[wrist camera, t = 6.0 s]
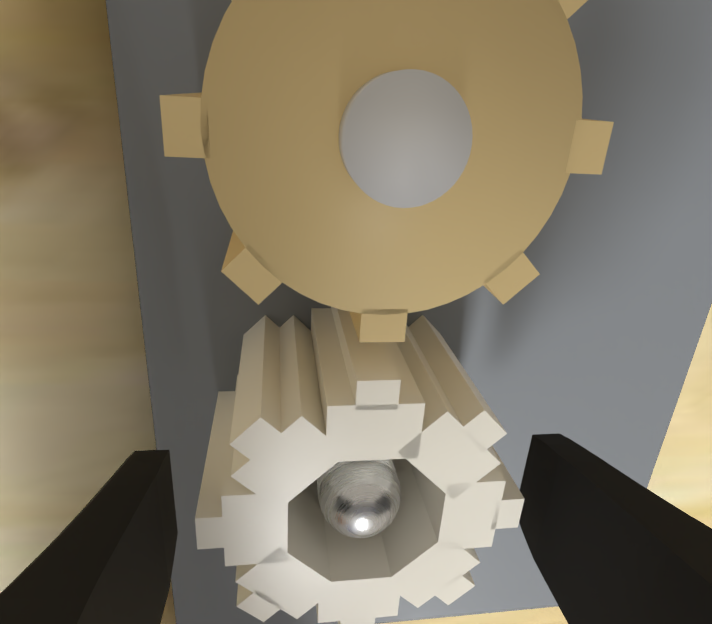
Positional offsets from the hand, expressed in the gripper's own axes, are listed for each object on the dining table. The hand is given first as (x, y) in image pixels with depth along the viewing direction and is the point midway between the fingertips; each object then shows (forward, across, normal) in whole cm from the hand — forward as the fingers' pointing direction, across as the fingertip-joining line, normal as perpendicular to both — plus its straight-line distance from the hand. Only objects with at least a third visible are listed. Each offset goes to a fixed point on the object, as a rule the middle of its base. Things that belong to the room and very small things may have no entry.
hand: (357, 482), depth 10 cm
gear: (+3, 0, 0) cm, 3 cm away
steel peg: (+4, 0, 0) cm, 4 cm away
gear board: (+4, -2, -2) cm, 5 cm away
